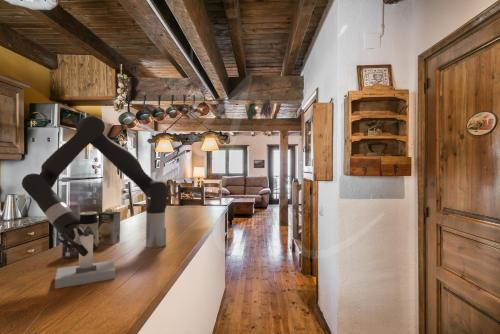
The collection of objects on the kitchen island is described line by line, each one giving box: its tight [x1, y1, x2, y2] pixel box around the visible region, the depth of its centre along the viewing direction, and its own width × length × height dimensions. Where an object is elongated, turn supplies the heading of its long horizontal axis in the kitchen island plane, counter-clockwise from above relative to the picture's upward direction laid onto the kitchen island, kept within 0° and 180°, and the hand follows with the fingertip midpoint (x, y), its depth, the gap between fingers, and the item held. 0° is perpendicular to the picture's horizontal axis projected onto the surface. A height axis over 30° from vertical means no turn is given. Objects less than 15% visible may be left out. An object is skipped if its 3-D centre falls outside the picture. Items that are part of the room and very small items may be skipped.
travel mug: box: [78, 211, 99, 247], centre depth 137 cm, size 8×8×18 cm
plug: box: [78, 230, 94, 268], centre depth 103 cm, size 4×4×13 cm
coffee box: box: [97, 210, 121, 245], centre depth 152 cm, size 9×6×16 cm
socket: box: [54, 260, 116, 290], centre depth 103 cm, size 18×12×3 cm, turn 121°
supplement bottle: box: [61, 242, 79, 259], centre depth 127 cm, size 6×6×11 cm
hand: (90, 252), depth 103 cm, fingers closed on plug, 4 cm apart
